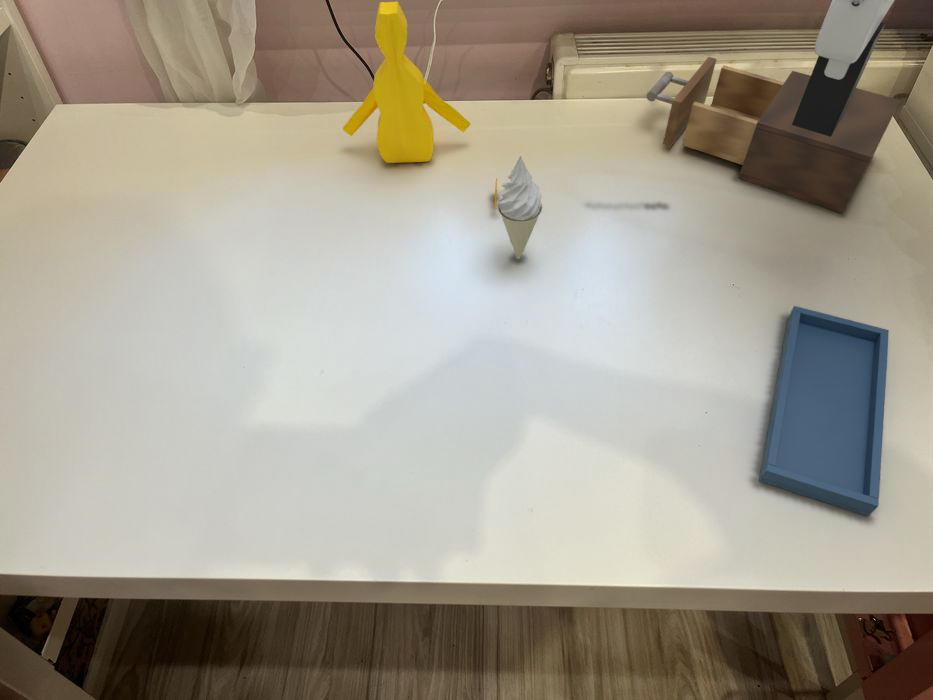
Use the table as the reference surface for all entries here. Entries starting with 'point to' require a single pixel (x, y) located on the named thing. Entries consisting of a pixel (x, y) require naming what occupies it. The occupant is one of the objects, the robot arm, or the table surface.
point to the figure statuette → (401, 97)
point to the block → (831, 93)
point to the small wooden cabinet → (816, 147)
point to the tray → (828, 411)
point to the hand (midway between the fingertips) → (843, 61)
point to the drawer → (717, 109)
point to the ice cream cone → (520, 206)
